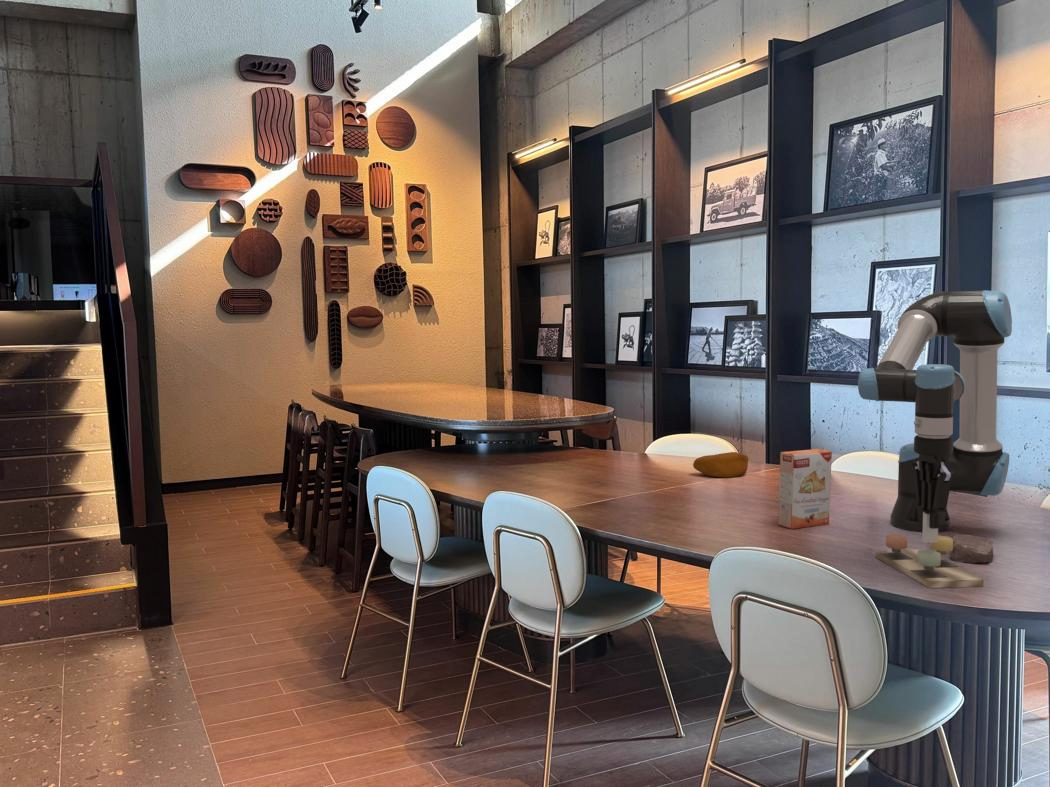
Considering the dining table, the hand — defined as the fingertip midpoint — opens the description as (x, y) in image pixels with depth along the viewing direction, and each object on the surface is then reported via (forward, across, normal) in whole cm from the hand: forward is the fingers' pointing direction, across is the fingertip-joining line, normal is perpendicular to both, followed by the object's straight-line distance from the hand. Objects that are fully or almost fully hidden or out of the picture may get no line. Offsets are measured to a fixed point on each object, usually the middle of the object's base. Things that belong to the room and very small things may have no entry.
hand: (930, 541), depth 190 cm
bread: (+11, -128, -7) cm, 128 cm away
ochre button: (+5, -7, +7) cm, 11 cm away
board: (+9, -7, +3) cm, 12 cm away
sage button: (+6, 0, 0) cm, 6 cm away
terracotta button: (+6, -14, 0) cm, 15 cm away
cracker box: (+10, -52, -7) cm, 53 cm away
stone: (+10, -16, +20) cm, 27 cm away
